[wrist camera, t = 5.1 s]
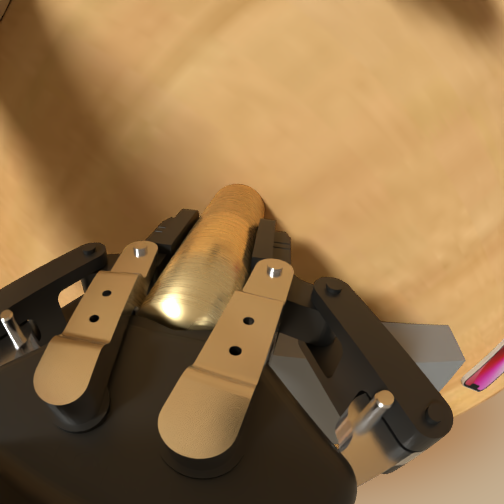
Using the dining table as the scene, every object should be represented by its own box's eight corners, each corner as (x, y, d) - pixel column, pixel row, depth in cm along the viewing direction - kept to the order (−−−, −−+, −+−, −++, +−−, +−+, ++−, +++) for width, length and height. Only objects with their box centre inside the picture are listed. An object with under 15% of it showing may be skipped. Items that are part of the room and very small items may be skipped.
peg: (213, 181, 15) (123, 291, 6) (267, 187, 15) (241, 313, 6) (211, 229, 17) (142, 364, 8) (261, 236, 16) (234, 384, 8)
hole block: (188, 394, 26) (178, 425, 23) (175, 295, 20) (156, 334, 16) (383, 411, 25) (388, 440, 22) (448, 325, 18) (465, 360, 15)
